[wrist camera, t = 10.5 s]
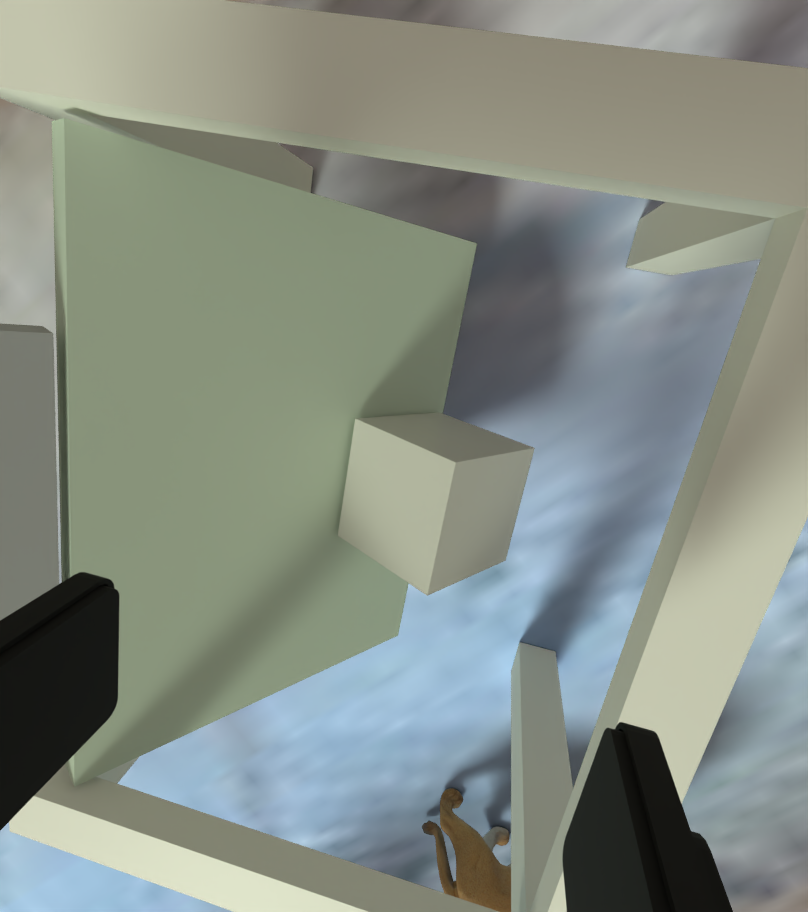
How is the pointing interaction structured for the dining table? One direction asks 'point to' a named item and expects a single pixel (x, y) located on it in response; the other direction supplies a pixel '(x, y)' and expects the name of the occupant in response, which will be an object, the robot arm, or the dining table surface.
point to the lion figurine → (471, 858)
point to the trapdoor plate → (212, 422)
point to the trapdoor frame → (654, 249)
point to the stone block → (432, 496)
